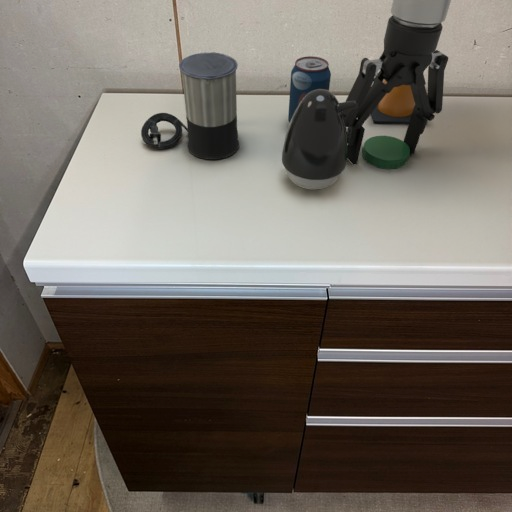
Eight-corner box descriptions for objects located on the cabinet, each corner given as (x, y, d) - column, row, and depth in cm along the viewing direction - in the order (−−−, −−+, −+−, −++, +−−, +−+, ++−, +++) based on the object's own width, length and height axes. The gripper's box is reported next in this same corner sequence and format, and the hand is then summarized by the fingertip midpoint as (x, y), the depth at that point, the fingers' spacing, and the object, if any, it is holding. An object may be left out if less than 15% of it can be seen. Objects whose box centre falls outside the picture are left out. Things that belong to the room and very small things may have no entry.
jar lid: (355, 146, 84) (357, 137, 83) (397, 142, 85) (399, 133, 84) (371, 171, 79) (373, 162, 78) (415, 166, 80) (418, 157, 79)
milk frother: (248, 153, 82) (247, 69, 72) (161, 176, 77) (147, 89, 67) (216, 116, 91) (212, 37, 81) (137, 135, 86) (121, 53, 76)
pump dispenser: (338, 204, 73) (353, 113, 62) (273, 192, 75) (277, 102, 64) (349, 168, 79) (364, 80, 69) (289, 157, 82) (294, 71, 71)
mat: (414, 99, 97) (415, 97, 96) (426, 124, 90) (426, 121, 89) (366, 99, 97) (366, 96, 97) (373, 123, 90) (374, 120, 90)
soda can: (300, 139, 86) (306, 74, 77) (280, 122, 90) (284, 59, 82) (331, 129, 88) (340, 66, 80) (311, 114, 92) (317, 52, 84)
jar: (401, 97, 96) (414, 39, 88) (420, 113, 92) (437, 54, 83) (370, 103, 95) (382, 44, 86) (389, 119, 90) (402, 59, 82)
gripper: (466, 5, 72) (423, 135, 87) (330, 15, 65) (310, 153, 81) (500, 22, 67) (448, 156, 82) (356, 35, 60) (329, 178, 76)
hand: (380, 155), depth 81 cm, fingers open, 11 cm apart
